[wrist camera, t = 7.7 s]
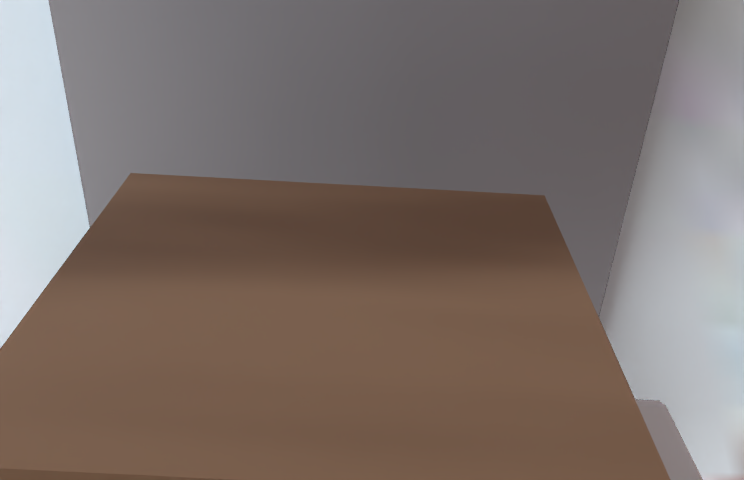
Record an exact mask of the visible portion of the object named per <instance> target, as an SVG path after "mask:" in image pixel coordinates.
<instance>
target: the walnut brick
mask: <svg viewBox="0 0 744 480" xmlns="http://www.w3.org/2000/svg"><path fill="white" fill-rule="evenodd" d="M0 480H670V477H669V475H668V473H667V471H666V468H665V466H664V464H663V462H662V459H661V457H660V455H659V453H658V450H657V448H656V446H655V444H654V441H653V439H652V437H651V435H650V432H649V430H648V428H647V426H646V423H645V421H644V419H643V416H642V414H641V412H640V410H639V407H638V405H637V403H636V401H635V398H634V396H633V394H632V392H631V389H630V387H629V385H628V383H627V380H626V378H625V376H624V374H623V371H622V369H621V367H620V365H619V362H618V360H617V358H616V356H615V353H614V351H613V349H612V346H611V344H610V342H609V340H608V337H607V335H606V333H605V331H604V328H603V326H602V324H601V322H600V319H599V317H598V315H597V313H596V310H595V308H594V306H593V304H592V301H591V299H590V297H589V295H588V292H587V290H586V288H585V286H584V283H583V281H582V279H581V277H580V274H579V272H578V270H577V267H576V265H575V263H574V261H573V258H572V256H571V254H570V252H569V249H568V247H567V245H566V243H565V240H564V238H563V236H562V234H561V231H560V229H559V227H558V225H557V222H556V220H555V218H554V216H553V213H552V211H551V209H550V207H549V204H548V202H547V200H546V197H545V195H530V194H511V193H492V192H474V191H455V190H437V189H418V188H400V187H381V186H363V185H344V184H326V183H307V182H289V181H270V180H252V179H233V178H215V177H196V176H178V175H159V174H141V173H130V175H129V176H128V177H127V179H126V180H125V181H124V183H123V184H122V185H121V187H120V188H119V189H118V191H117V192H116V193H115V195H114V196H113V197H112V199H111V200H110V202H109V203H108V204H107V206H106V207H105V208H104V210H103V211H102V212H101V214H100V215H99V216H98V218H97V219H96V220H95V222H94V223H93V224H92V226H91V227H90V229H89V230H88V231H87V233H86V234H85V235H84V237H83V238H82V239H81V241H80V242H79V243H78V245H77V246H76V247H75V249H74V250H73V251H72V253H71V254H70V256H69V257H68V258H67V260H66V261H65V262H64V264H63V265H62V266H61V268H60V269H59V270H58V272H57V273H56V274H55V276H54V277H53V278H52V280H51V281H50V283H49V284H48V285H47V287H46V288H45V289H44V291H43V292H42V293H41V295H40V296H39V297H38V299H37V300H36V301H35V303H34V304H33V305H32V307H31V308H30V310H29V311H28V312H27V314H26V315H25V316H24V318H23V319H22V320H21V322H20V323H19V324H18V326H17V327H16V328H15V330H14V331H13V332H12V334H11V335H10V337H9V338H8V339H7V341H6V342H5V343H4V345H3V346H2V347H1V349H0Z"/></svg>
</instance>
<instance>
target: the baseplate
mask: <svg viewBox="0 0 744 480" xmlns="http://www.w3.org/2000/svg"><path fill="white" fill-rule="evenodd" d="M678 3H679V0H49V5H50V11H51V16H52V22H53V27H54V33H55V38H56V44H57V49H58V55H59V60H60V66H61V71H62V77H63V82H64V88H65V93H66V99H67V104H68V110H69V115H70V121H71V126H72V132H73V137H74V143H75V148H76V154H77V159H78V165H79V170H80V176H81V181H82V187H83V192H84V198H85V203H86V209H87V214H88V220H89V225H90V227H91V226H92V224H93V223H94V222H95V220H96V219H97V218H98V216H99V215H100V214H101V212H102V211H103V210H104V208H105V207H106V206H107V204H108V203H109V202H110V200H111V199H112V197H113V196H114V195H115V193H116V192H117V191H118V189H119V188H120V187H121V185H122V184H123V183H124V181H125V180H126V179H127V177H128V176H129V175H130V173H141V174H159V175H178V176H196V177H215V178H233V179H252V180H270V181H289V182H307V183H326V184H344V185H363V186H381V187H400V188H418V189H437V190H455V191H474V192H492V193H511V194H530V195H545V197H546V200H547V202H548V204H549V207H550V209H551V211H552V213H553V216H554V218H555V220H556V222H557V225H558V227H559V229H560V231H561V234H562V236H563V238H564V240H565V243H566V245H567V247H568V249H569V252H570V254H571V256H572V258H573V261H574V263H575V265H576V267H577V270H578V272H579V274H580V277H581V279H582V281H583V283H584V286H585V288H586V290H587V292H588V295H589V297H590V299H591V301H592V304H593V306H594V308H595V310H596V313H597V315H598V317H599V314H600V310H601V306H602V302H603V298H604V294H605V290H606V286H607V282H608V278H609V274H610V270H611V266H612V263H613V259H614V255H615V251H616V247H617V243H618V239H619V235H620V231H621V227H622V223H623V219H624V215H625V211H626V207H627V203H628V200H629V196H630V192H631V188H632V184H633V180H634V176H635V172H636V168H637V164H638V160H639V156H640V152H641V148H642V144H643V140H644V137H645V133H646V129H647V125H648V121H649V117H650V113H651V109H652V105H653V101H654V97H655V93H656V89H657V85H658V81H659V77H660V74H661V70H662V66H663V62H664V58H665V54H666V50H667V46H668V42H669V38H670V34H671V30H672V26H673V22H674V18H675V14H676V10H677V7H678Z"/></svg>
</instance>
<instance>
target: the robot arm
mask: <svg viewBox="0 0 744 480" xmlns="http://www.w3.org/2000/svg"><path fill="white" fill-rule="evenodd" d="M635 401H636V403H637V405H638V407H639V410H640V412H641V414H642V416H643V419H644V421H645V423H646V426H647V428H648V430H649V432H650V435H651V437H652V439H653V441H654V444H655V446H656V448H657V450H658V453H659V455H660V457H661V459H662V462H663V464H664V466H665V468H666V471H667V473H668V475H669V477H670V480H703V479H702V477H701V475H700V473H699V471H698V469H697V467H696V465H695V463H694V461H693V459H692V457H691V455H690V453H689V451H688V449H687V447H686V445H685V443H684V441H683V439H682V437H681V435H680V433H679V431H678V429H677V427H676V425H675V423H674V421H673V419H672V417H671V415H670V413H669V411H668V409H667V407H666V406H665V405H664V404H663V403H662V402H660V401H658V400H635Z"/></svg>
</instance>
